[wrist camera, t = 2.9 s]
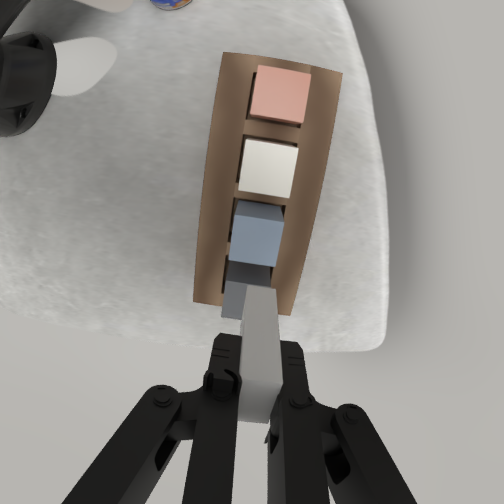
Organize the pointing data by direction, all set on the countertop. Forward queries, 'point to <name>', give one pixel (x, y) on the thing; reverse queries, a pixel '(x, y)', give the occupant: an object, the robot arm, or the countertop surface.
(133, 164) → the countertop surface
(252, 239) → the key blue
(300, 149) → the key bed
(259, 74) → the key brick
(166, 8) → the pill bottle
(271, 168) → the key ivory
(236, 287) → the key charcoal
